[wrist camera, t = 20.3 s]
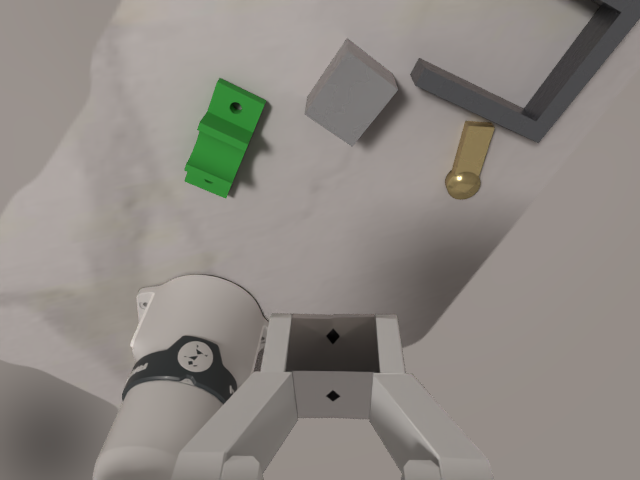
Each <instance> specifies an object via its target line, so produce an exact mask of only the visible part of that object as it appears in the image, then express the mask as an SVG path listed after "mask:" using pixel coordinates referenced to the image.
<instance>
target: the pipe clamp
mask: <svg viewBox="0 0 640 480" xmlns="http://www.w3.org/2000/svg"><path fill="white" fill-rule="evenodd" d="M233 102H237V103H239V104H240V105H241V107H242V109H241V110H237V109H235V108H234V107H233V105H232V103H233ZM265 103H266V100H264V99H262V98H260V97H258V96H256V95H254V94H252V93H250V92H248V91H246V90H244V89H242V88H240V87H237V86H235V85H233V84H231V83H229V82H227V81H225V80H223V79H221V78H220V79H219V80H218V82H217V84H216V87H215V90H214V93H213V96H212V99H211V102H210V105H209V108H208V111H207V113H206V114H205V116H204V117H203V119H202V120H201V121H200V123H199V126H198V129H197V130H199V135H198V139H197V141H196V144H195V147H194V149H193V152H192V154H191V156H190V158H189V160H188V162H187V164H186V167H185V171H187V175H186V178H185V182H188V183H190V184H192V185H195V186H197V187H200V188H202V189H204V190H207V191H209V192H212V193H214V194H216V195H219V196H221V197H224V198H226V197H227V195H228V192H229V190H230V187H231V185H232V183H233V180H234V178H235V175H236V173H237V170H238V168H239V166H240V163H241V161H242V158H243V156H244V154H245V151H246V149H247V146H248V144H249V141H250V139H251V137H252V134H253V132H254V129H255V127H256V125H257V122H258V120H259V117H260V115H261V112H262V110H263V108H264V105H265Z"/></svg>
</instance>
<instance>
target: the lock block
mask: <svg viewBox="0 0 640 480" xmlns="http://www.w3.org/2000/svg"><path fill="white" fill-rule="evenodd" d="M397 91H398V88H397V85H396V82H395V79H394V76H393V74H392V73H391V72H390V71H389V70H387V69H386V68H385V67H383V66H382V65H381V64H380V63H378V62H377V61H376V60H375V59H373V58H372V57H371V56H369V55H368V54H367V53H366V52H364V51H363V50H362V49H361V48H359V47H358V46H357V45H355V44H354V43H353V42H352V41H350V40H349V39H348V38H347V39H346V40H345V42H344V43H343V45H342V46H341V48H340V49H339V51H338V52H337V54H336V55H335V57H334V58H333V59H332V61H331V62H330V64H329V65H328V67H327V68H326V70H325V71H324V73H323V74H322V76H321V77H320V79H319V80H318V82H317V83H316V85H315V86H314V88H313V89H312V91H311V92H310V94H309V95H308V97H307V102H306V108H305V115H307V116H308V117H309V118H311V119H312V120H314V121H315V122H317V123H318V124H320V125H321V126H323V127H324V128H326V129H327V130H329V131H330V132H332V133H333V134H334V135H336V136H337V137H339V138H340V139H342V140H343V141H345V142H346V143H348V144H349V145H351V146H353V145H354V144H355V143H356V141H357V140H358V139H359V138H360V136H361V135H362V134H363V133H364V132H365V130H366V129H367V128H368V127H369V125H370V124H371V123H372V122H373V120H374V119H375V118H376V117H377V115H378V114H379V113H380V112H381V110H382V109H383V108H384V107H385V105H386V104H387V103H388V102H389V101H390V99H391V98H392V97H393V96H394V94H395V93H396V92H397Z"/></svg>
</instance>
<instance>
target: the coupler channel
mask: <svg viewBox="0 0 640 480" xmlns="http://www.w3.org/2000/svg"><path fill="white" fill-rule="evenodd" d="M592 1H594V2H595V3H597V4H599V5H601V6H600V8H599V9H598V10H597V12H596V13H595V14H594V16H593V17H592V18H591V20H590V21H589V22H588V24H587V25H586V26H585V28H584V29H583V30H582V32H581V33H580V34H579V36H578V37H577V38H576V40H575V41H574V42H573V44H572V45H571V46H570V48H569V49H568V50H567V52H566V53H565V54H564V56H563V57H562V58H561V60H560V61H559V62H558V64H557V65H556V66H555V68H554V69H553V71H552V72H551V73H550V75H549V76H548V77H547V79H546V80H545V81H544V83H543V84H542V85H541V87H540V88H539V89H538V91H537V92H536V93H535V95H534V96H533V97H532V99H531V100H530V101H529V103H528V104H527V105H526V107H525V108H524V109H523V108H521V107H519V106H517V105H515V104H513V103H511V102H509V101H507V100H505V99H503V98H501V97H499V96H497V95H495V94H492V93H490V92H488V91H486V90H484V89H482V88H480V87H478V86H476V85H474V84H472V83H470V82H468V81H466V80H464V79H461V78H459V77H457V76H455V75H453V74H451V73H449V72H447V71H445V70H443V69H441V68H439V67H437V66H435V65H433V64H431V63H428V62H426V61H424V60H422V59H420V58H419V59H418V61H417V63H416V65H415V67H414V69H413V70H412V72H411V74H410V75H411V77H412V80H413V82H414V84H415V86H417V87H420V88H422V89H424V90H426V91H428V92H430V93H432V94H435V95H437V96H439V97H441V98H443V99H445V100H447V101H450V102H452V103H454V104H456V105H458V106H460V107H462V108H465V109H467V110H469V111H471V112H473V113H475V114H477V115H480V116H482V117H484V118H486V119H488V120H490V121H492V122H494V123H497V124H499V125H501V126H503V127H505V128H507V129H509V130H512V131H514V132H516V133H518V134H520V135H522V136H524V137H527V138H529V139H531V140H533V141H535V142H537V143H539V142H540V140H541V139H542V138H543V137H544V135H545V134H546V133H547V132H548V131H549V129H550V128H551V127H552V126H553V124H554V123H555V122H556V121H557V119H558V118H559V117H560V116H561V115H562V113H563V112H564V111H565V110H566V108H567V107H568V106H569V105H570V103H571V102H572V101H573V100H574V98H575V97H576V96H577V95H578V94H579V92H580V91H581V90H582V89H583V87H584V86H585V85H586V84H587V82H588V81H589V80H590V79H591V78H592V76H593V75H594V74H595V73H596V71H597V70H598V69H599V68H600V66H601V65H602V64H603V63H604V62H605V60H606V59H607V58H608V57H609V55H610V54H611V53H612V52H613V50H614V49H615V48H616V47H617V46H618V44H619V43H620V42H621V41H622V39H623V38H624V37H625V36H626V34H627V33H628V32H629V31H630V29H631V28H632V27H633V26H634V25H635V23H636V22H637V21H638V20H639V18H640V0H592Z"/></svg>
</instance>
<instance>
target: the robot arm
mask: <svg viewBox="0 0 640 480" xmlns="http://www.w3.org/2000/svg"><path fill="white" fill-rule="evenodd" d="M136 299H137V309H138V319H139V325H138V327H137V329H136V332H135V334H134V336H133V338H132V341H131V345H130V346H131V347H132V348H133V357H134V360H135V363H136V364H135V366H134V368H133V370H132V372H131V373H130V375H129V376H128V379H127V381H126V385H125V388H124V391H123V394H122V400H123V403H122V405H121V407H120V410H119V412H118V414H117V416H116V418H115V421H114V423H113V425H112V427H111V430H110V432H109V434H108V436H107V438H106V441H105V443H104V445H103V447H102V450H101V452H100V454H99V456H98V458H97V461H96V464H95V467H94V471H93V480H264V479H263V475H262V474H263V473H264V471H265V470H266V468H267V466H268V465H269V463H270V462H271V460H272V459H273V457H274V456H275V454H276V452H277V451H278V450H279V448H280V447H281V445H282V444H283V442H284V441H285V439H286V437H287V436H288V434H289V433H290V431H291V430H292V428H293V427H294V425H295V424H296V422H297V421H298V418H333V417H334V418H353V419H370V423H371V424H372V426H373V427H374V429H375V431H376V432H377V434H378V436H379V437H380V439H381V440H382V442H383V444H384V445H385V447H386V449H387V450H388V452H389V453H390V455H391V457H392V458H393V460H394V461H395V463H396V465H397V466H398V468H399V469H400V471H401V473H402V477H401V480H494V478H493V474H492V471H491V467H490V464H489V461H488V459H487V458H486V457H485V456H484V455H483V453H482V452H481V451H480V450H479V449H478V448H477V447H476V445H475V444H474V443H473V442H472V441H471V440H470V439H469V437H468V436H467V435H466V434H465V433H464V432H463V431H462V430H461V428H460V427H459V426H458V425H457V424H456V423H455V422H454V420H453V419H452V418H451V417H450V416H449V415H448V414H447V413H446V411H445V410H444V409H443V408H442V407H441V406H440V405H439V403H438V402H437V401H436V400H435V399H434V398H433V397H432V396H431V394H430V393H429V392H428V391H427V390H426V389H425V387H424V386H423V385H422V384H421V383H420V382H419V381H418V380H417V378H415V376H414V375H413V374H407V373H406V371H405V364H404V358H403V351H402V344H401V337H400V331H399V324H398V318H397V316H396V314H375V315H374V314H333V315H323V314H282V313H272V315H271V317H270V320H269V322H268V321H267V320H266V319H265V318H264V317H263V315H262V313H261V311H260V308H259V306H258V304H257V303H256V301H255V300H254V299H253V297H252V296H251V295H250V294H249V293H247V292H246V291H245V290H244V289H242V288H241V287H239V286H237V285H236V284H234V283H232V282H229V281H227V280H224V279H221V278H218V277H213V276H207V275H186V276H181V277H178V278H175V279H172V280H170V281H168V282H166V283H165V284H163V285H160V286H153V287H146V288H142V289H140V290H139V292H138V294H137V298H136ZM264 346H265V348H264V354H263V359H262V365H261V371H255V372H254V368H255V364H256V359H257V355H258V353H259V352H260V350H261V349H262V348H263V347H264Z"/></svg>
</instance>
